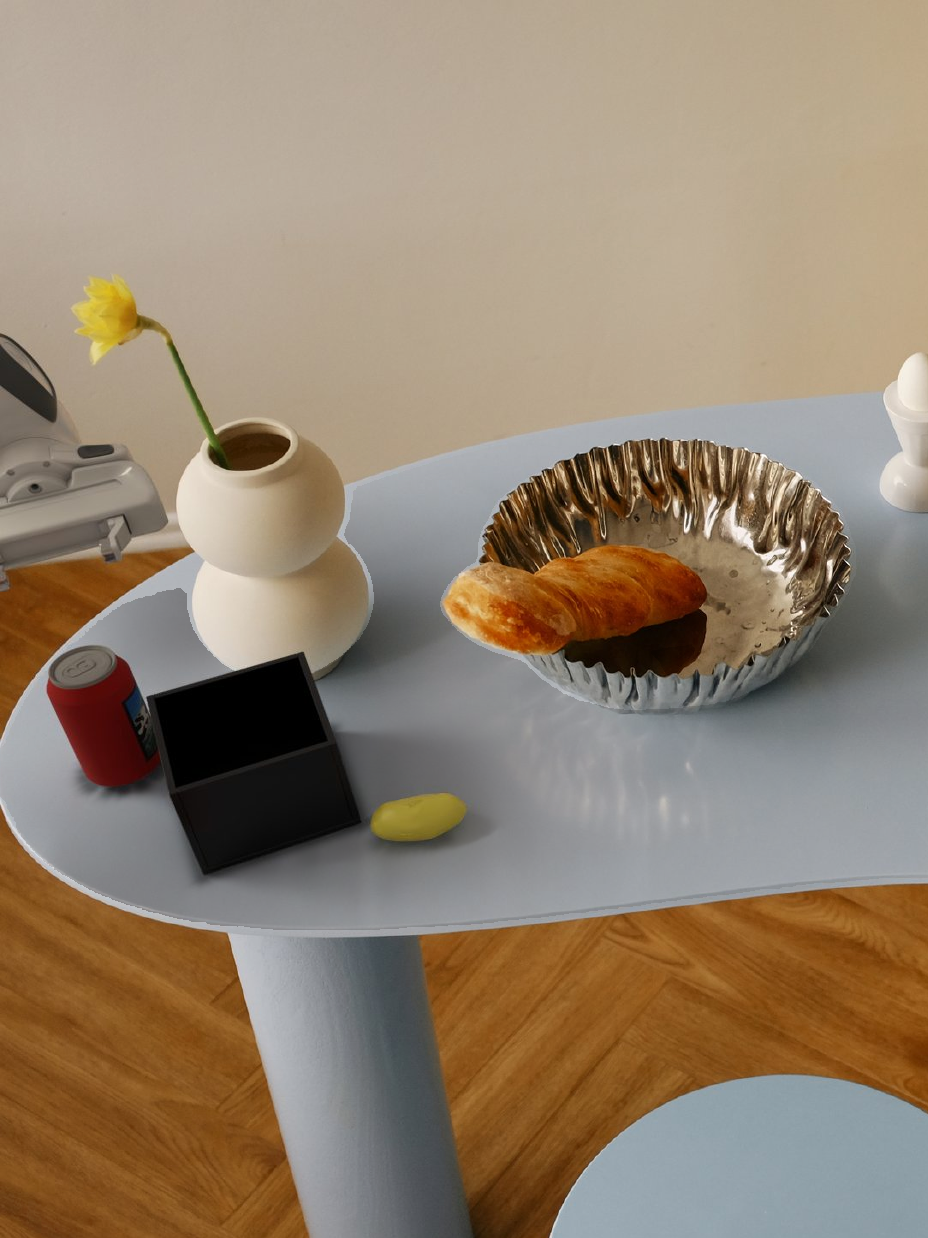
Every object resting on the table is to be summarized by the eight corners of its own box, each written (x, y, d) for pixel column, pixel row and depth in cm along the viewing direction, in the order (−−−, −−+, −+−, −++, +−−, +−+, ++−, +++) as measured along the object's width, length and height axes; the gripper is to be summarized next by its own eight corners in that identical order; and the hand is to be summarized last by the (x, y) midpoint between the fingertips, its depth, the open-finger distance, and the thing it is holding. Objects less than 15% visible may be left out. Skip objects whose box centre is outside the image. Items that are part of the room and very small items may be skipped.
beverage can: (181, 762, 135) (140, 661, 128) (112, 804, 132) (65, 702, 124) (140, 730, 139) (97, 629, 131) (72, 770, 135) (23, 668, 127)
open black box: (203, 875, 125) (168, 794, 119) (179, 776, 134) (145, 696, 128) (362, 823, 130) (336, 742, 124) (328, 730, 139) (303, 650, 132)
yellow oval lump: (376, 820, 130) (366, 788, 128) (470, 809, 131) (462, 777, 129) (373, 856, 127) (363, 824, 124) (469, 844, 128) (461, 812, 125)
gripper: (-93, 494, 138) (-87, 575, 129) (141, 438, 145) (162, 511, 136) (-65, 549, 142) (-57, 632, 133) (161, 493, 149) (183, 567, 140)
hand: (56, 570), depth 134 cm, fingers open, 8 cm apart
